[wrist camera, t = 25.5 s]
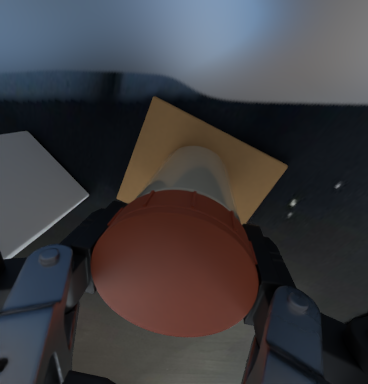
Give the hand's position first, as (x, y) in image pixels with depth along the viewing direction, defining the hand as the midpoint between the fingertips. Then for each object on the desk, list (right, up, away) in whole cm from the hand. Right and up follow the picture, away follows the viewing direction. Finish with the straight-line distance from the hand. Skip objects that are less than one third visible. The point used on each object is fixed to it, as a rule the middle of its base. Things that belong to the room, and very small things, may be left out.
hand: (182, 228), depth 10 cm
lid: (0, -1, -3) cm, 3 cm away
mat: (+1, +3, +6) cm, 7 cm away
